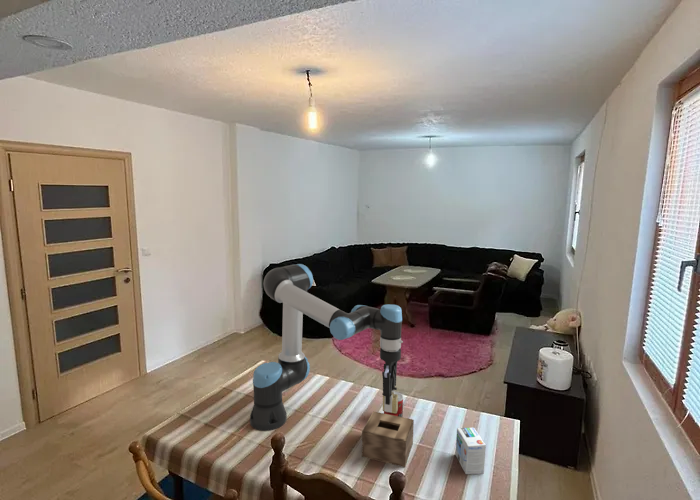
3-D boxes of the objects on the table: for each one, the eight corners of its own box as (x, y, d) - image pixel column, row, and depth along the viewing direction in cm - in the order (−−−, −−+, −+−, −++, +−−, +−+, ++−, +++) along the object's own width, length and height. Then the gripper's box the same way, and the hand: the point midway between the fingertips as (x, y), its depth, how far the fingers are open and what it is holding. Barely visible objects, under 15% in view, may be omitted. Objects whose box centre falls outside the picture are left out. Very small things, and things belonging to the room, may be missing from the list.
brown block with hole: (361, 456, 142) (362, 431, 141) (372, 434, 155) (373, 411, 154) (405, 467, 137) (405, 441, 136) (412, 443, 150) (413, 419, 149)
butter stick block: (382, 411, 143) (382, 395, 143) (384, 407, 146) (384, 392, 145) (396, 413, 142) (396, 397, 141) (397, 410, 144) (397, 394, 143)
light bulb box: (454, 454, 144) (456, 427, 143) (472, 453, 145) (474, 426, 143) (465, 475, 134) (467, 446, 132) (484, 474, 134) (486, 445, 133)
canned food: (401, 426, 161) (402, 401, 160) (382, 424, 163) (383, 399, 161) (403, 416, 169) (403, 392, 167) (384, 414, 170) (385, 390, 169)
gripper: (395, 357, 132) (394, 422, 135) (405, 341, 147) (403, 400, 150) (374, 354, 135) (373, 418, 138) (386, 339, 149) (384, 397, 152)
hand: (389, 409), depth 144 cm, fingers closed on butter stick block, 2 cm apart
